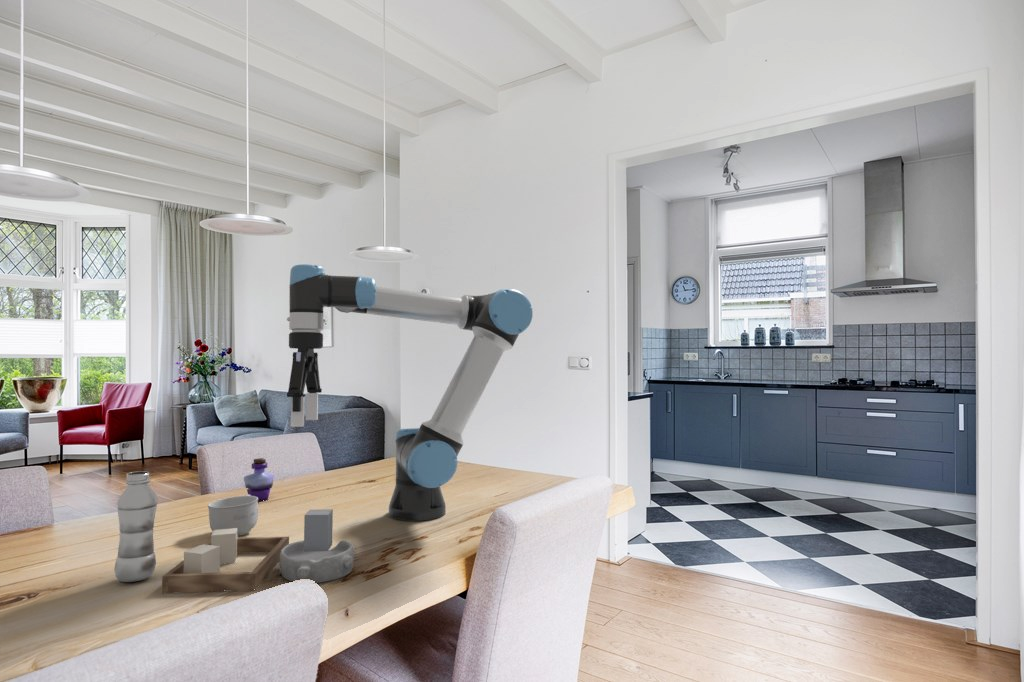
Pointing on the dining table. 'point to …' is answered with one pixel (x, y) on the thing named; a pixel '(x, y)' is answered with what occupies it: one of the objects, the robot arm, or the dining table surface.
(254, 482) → the potion bottle
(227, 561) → the white block
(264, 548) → the parts tray
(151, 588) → the dining table surface
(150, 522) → the plastic bottle
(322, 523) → the gray block
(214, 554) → the white block
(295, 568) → the dish
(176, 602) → the dining table surface
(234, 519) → the teacup
